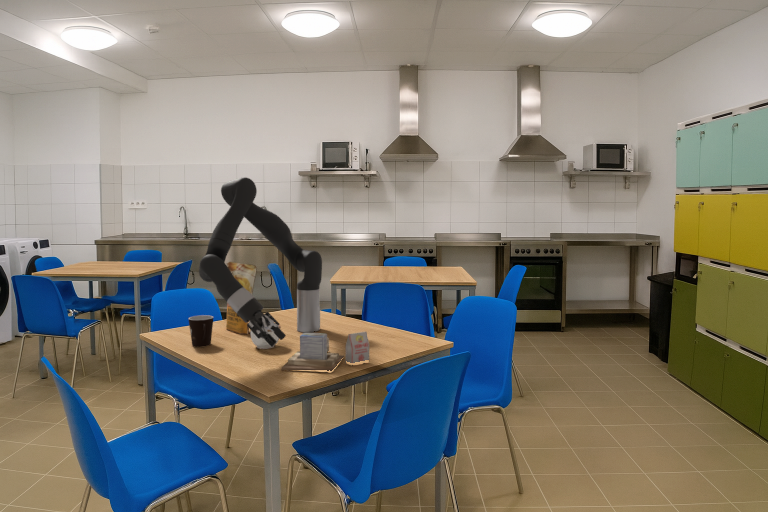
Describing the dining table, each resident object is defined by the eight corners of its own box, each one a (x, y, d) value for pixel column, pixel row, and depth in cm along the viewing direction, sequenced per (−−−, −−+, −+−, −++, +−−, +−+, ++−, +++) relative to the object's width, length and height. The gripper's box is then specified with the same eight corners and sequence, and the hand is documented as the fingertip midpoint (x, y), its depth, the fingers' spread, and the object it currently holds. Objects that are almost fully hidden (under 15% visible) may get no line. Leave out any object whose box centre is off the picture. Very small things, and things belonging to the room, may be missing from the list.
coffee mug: (193, 341, 184) (192, 315, 183) (216, 341, 185) (216, 315, 184) (182, 350, 172) (182, 322, 172) (208, 349, 173) (207, 321, 172)
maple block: (315, 351, 173) (315, 337, 173) (328, 352, 172) (329, 337, 172) (310, 354, 169) (310, 340, 168) (324, 355, 167) (324, 341, 167)
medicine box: (327, 359, 159) (327, 333, 159) (323, 363, 155) (323, 336, 154) (303, 358, 160) (303, 332, 160) (299, 362, 156) (299, 335, 155)
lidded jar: (271, 351, 171) (270, 325, 171) (244, 349, 175) (244, 323, 174) (286, 344, 182) (285, 319, 181) (260, 341, 185) (260, 317, 184)
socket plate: (297, 356, 167) (297, 348, 166) (344, 358, 164) (344, 351, 164) (281, 370, 151) (281, 362, 151) (332, 373, 148) (332, 365, 148)
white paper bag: (345, 363, 159) (345, 333, 158) (362, 360, 163) (363, 330, 162) (351, 366, 156) (351, 335, 155) (369, 362, 160) (369, 332, 159)
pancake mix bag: (234, 325, 212) (233, 260, 209) (259, 333, 199) (258, 264, 196) (220, 328, 207) (219, 261, 204) (244, 336, 194) (243, 265, 191)
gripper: (243, 300, 152) (279, 338, 151) (261, 293, 166) (294, 328, 165) (227, 316, 153) (263, 354, 152) (246, 308, 167) (279, 343, 166)
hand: (279, 341), depth 159 cm, fingers open, 8 cm apart
